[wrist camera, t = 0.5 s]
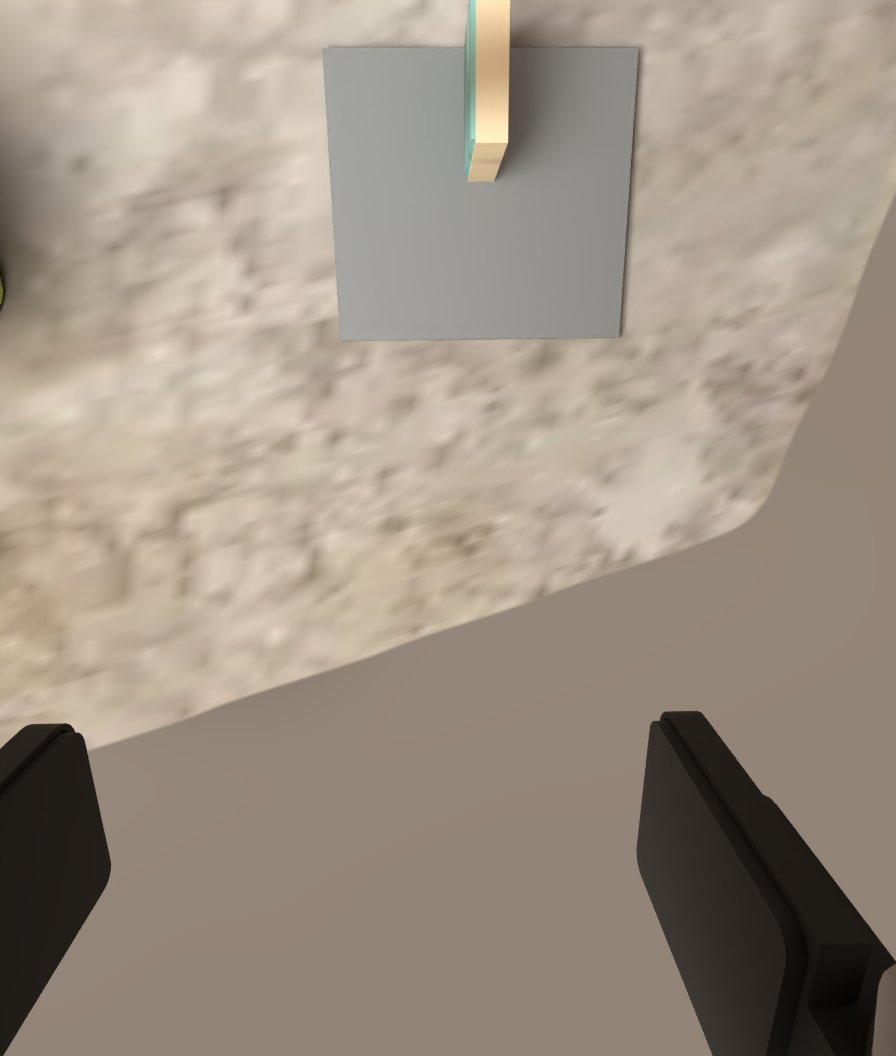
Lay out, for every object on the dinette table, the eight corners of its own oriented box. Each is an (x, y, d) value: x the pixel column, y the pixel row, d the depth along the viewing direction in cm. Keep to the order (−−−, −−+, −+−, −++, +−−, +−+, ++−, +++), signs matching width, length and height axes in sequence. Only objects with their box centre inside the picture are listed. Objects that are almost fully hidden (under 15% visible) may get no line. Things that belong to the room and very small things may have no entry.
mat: (324, 53, 30) (322, 47, 29) (634, 53, 30) (638, 47, 30) (341, 340, 34) (340, 340, 33) (616, 337, 34) (619, 337, 34)
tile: (463, 47, 30) (471, -27, 24) (495, 47, 30) (510, -27, 24) (464, 181, 31) (471, 142, 26) (494, 181, 31) (508, 142, 26)
